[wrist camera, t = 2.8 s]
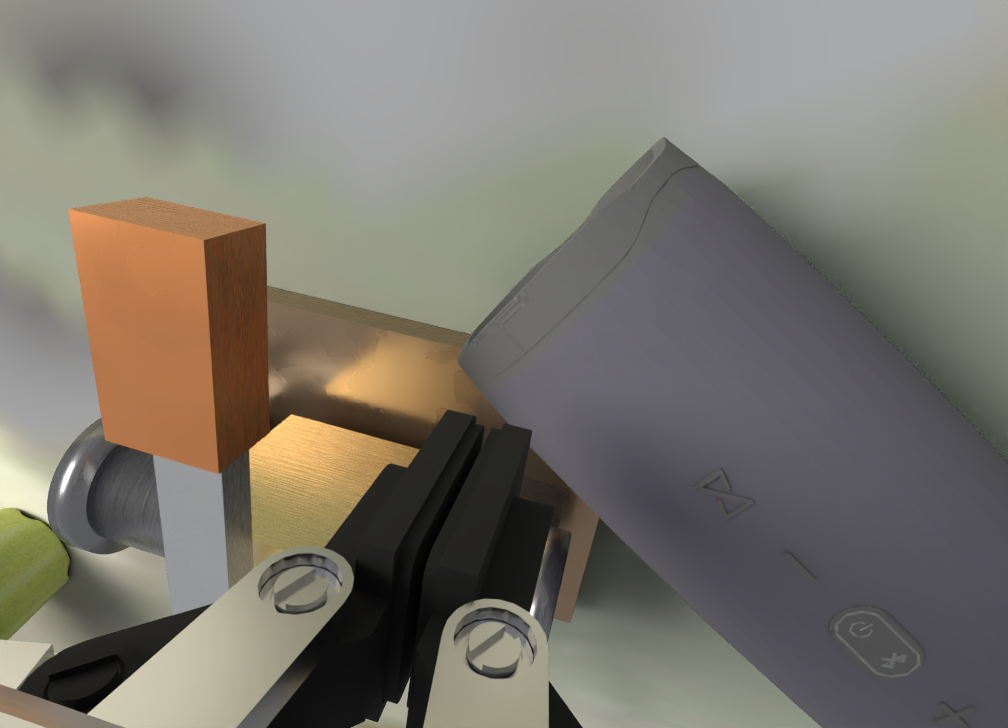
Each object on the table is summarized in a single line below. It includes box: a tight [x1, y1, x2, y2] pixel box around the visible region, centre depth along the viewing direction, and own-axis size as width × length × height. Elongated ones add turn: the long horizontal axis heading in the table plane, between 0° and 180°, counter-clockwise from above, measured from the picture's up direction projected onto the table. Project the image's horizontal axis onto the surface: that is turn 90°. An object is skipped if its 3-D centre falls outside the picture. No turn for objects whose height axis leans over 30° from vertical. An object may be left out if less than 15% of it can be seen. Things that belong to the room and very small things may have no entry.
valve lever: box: [68, 197, 270, 615], centre depth 14 cm, size 14×3×2 cm, turn 171°
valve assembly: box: [47, 286, 599, 642], centre depth 22 cm, size 20×12×11 cm, turn 81°
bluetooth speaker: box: [457, 138, 1008, 728], centre depth 18 cm, size 23×9×10 cm, turn 48°
